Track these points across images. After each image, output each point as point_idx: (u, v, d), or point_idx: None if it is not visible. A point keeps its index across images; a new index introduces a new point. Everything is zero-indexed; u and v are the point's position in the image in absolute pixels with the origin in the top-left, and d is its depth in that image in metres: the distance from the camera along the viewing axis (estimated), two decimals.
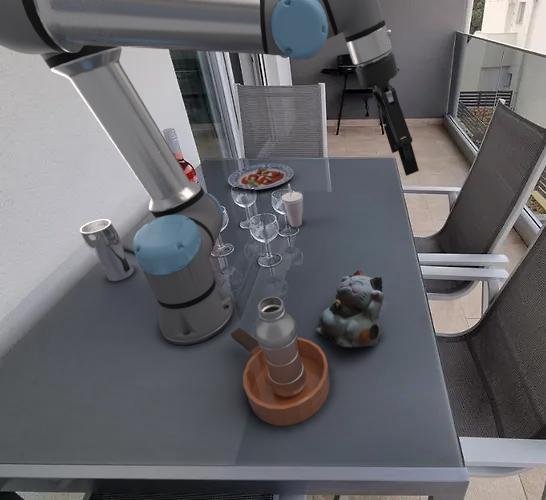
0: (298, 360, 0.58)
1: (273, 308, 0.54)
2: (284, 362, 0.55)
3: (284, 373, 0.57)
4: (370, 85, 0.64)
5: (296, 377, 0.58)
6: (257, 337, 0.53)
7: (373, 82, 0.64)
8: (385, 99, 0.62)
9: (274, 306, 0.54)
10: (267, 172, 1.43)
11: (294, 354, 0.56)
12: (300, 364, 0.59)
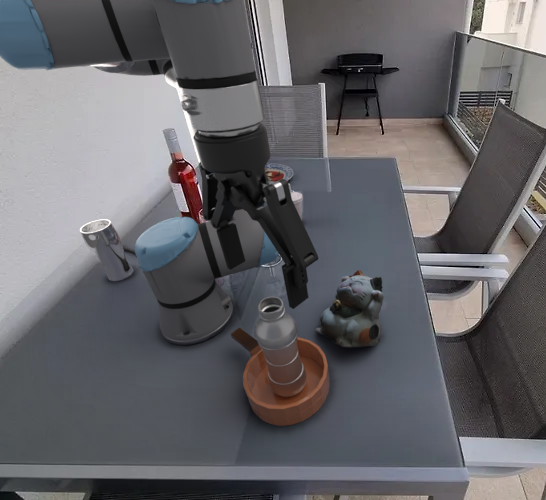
0: (298, 360, 0.58)
1: (273, 308, 0.54)
2: (284, 362, 0.55)
3: (284, 373, 0.57)
4: None
5: (296, 377, 0.58)
6: (257, 337, 0.53)
7: None
8: None
9: (274, 306, 0.54)
10: (267, 172, 1.43)
11: (294, 354, 0.56)
12: (300, 364, 0.59)
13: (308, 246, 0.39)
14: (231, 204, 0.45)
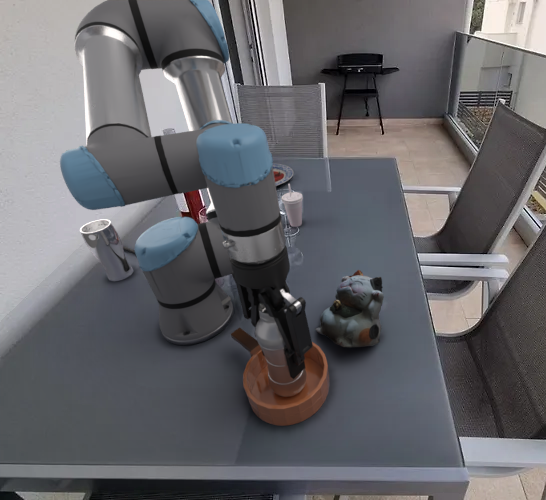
0: None
1: None
2: (284, 362, 0.55)
3: (284, 373, 0.57)
4: None
5: (296, 377, 0.58)
6: (257, 337, 0.53)
7: None
8: None
9: None
10: None
11: None
12: None
13: (308, 341, 0.50)
14: None
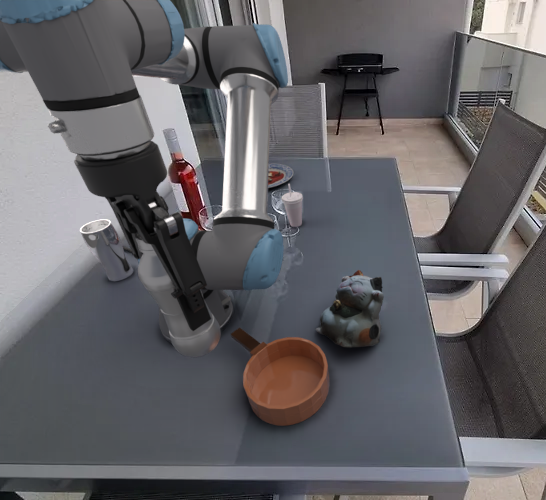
0: None
1: None
2: (180, 310, 0.44)
3: (183, 325, 0.46)
4: None
5: (201, 331, 0.47)
6: (139, 275, 0.42)
7: None
8: None
9: None
10: None
11: None
12: None
13: (197, 275, 0.40)
14: None
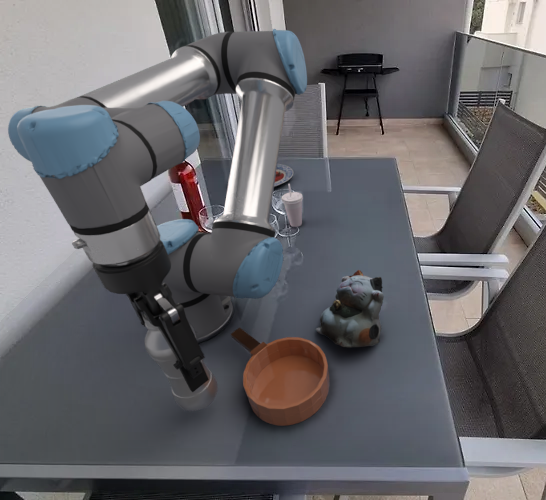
0: None
1: None
2: (181, 374, 0.50)
3: (183, 386, 0.52)
4: None
5: (200, 390, 0.53)
6: (145, 347, 0.48)
7: None
8: None
9: None
10: None
11: None
12: None
13: (196, 351, 0.45)
14: None
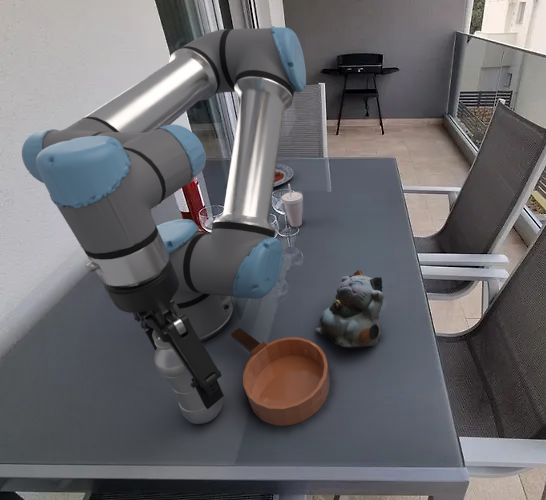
0: None
1: None
2: (188, 389, 0.52)
3: (190, 400, 0.54)
4: None
5: None
6: (155, 364, 0.50)
7: None
8: None
9: None
10: None
11: None
12: None
13: (210, 367, 0.45)
14: None
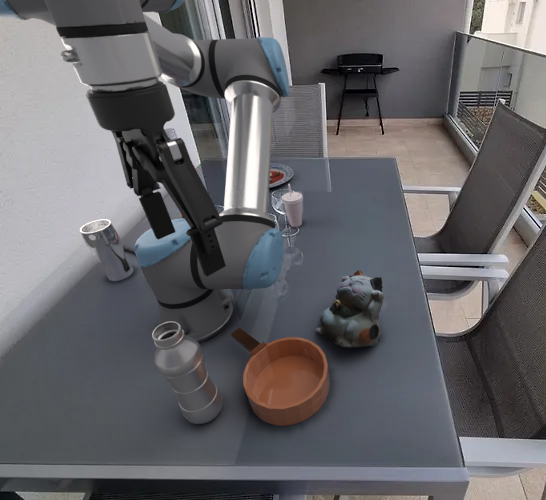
0: (208, 386, 0.55)
1: (174, 333, 0.51)
2: (188, 389, 0.52)
3: (190, 400, 0.54)
4: None
5: (206, 404, 0.55)
6: (155, 364, 0.50)
7: None
8: None
9: (175, 331, 0.51)
10: None
11: (200, 381, 0.53)
12: (211, 390, 0.56)
13: (210, 209, 0.38)
14: (147, 169, 0.44)
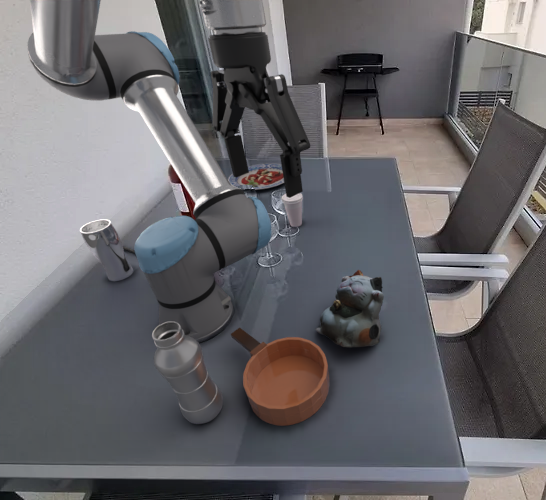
0: (208, 386, 0.55)
1: (174, 333, 0.51)
2: (188, 389, 0.52)
3: (190, 400, 0.54)
4: None
5: (206, 404, 0.55)
6: (155, 364, 0.50)
7: None
8: None
9: (175, 331, 0.51)
10: (267, 172, 1.43)
11: (200, 381, 0.53)
12: (211, 390, 0.56)
13: (302, 134, 0.47)
14: (237, 110, 0.53)
